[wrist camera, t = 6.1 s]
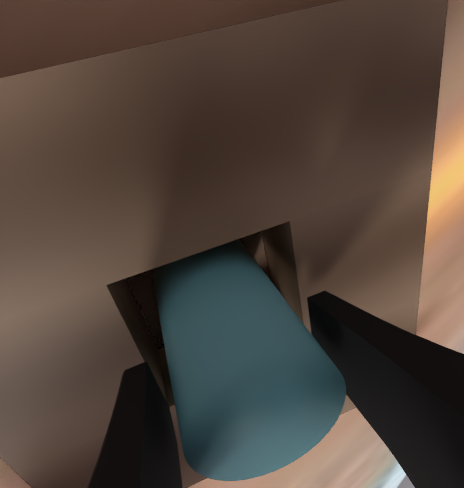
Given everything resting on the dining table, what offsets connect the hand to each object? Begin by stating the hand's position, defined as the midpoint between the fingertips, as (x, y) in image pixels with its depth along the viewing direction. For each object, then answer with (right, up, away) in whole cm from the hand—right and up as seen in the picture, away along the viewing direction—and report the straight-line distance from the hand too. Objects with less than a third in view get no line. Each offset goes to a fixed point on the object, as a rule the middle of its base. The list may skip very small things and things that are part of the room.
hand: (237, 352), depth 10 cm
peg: (-1, +2, +4) cm, 5 cm away
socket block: (-1, +2, +4) cm, 4 cm away
